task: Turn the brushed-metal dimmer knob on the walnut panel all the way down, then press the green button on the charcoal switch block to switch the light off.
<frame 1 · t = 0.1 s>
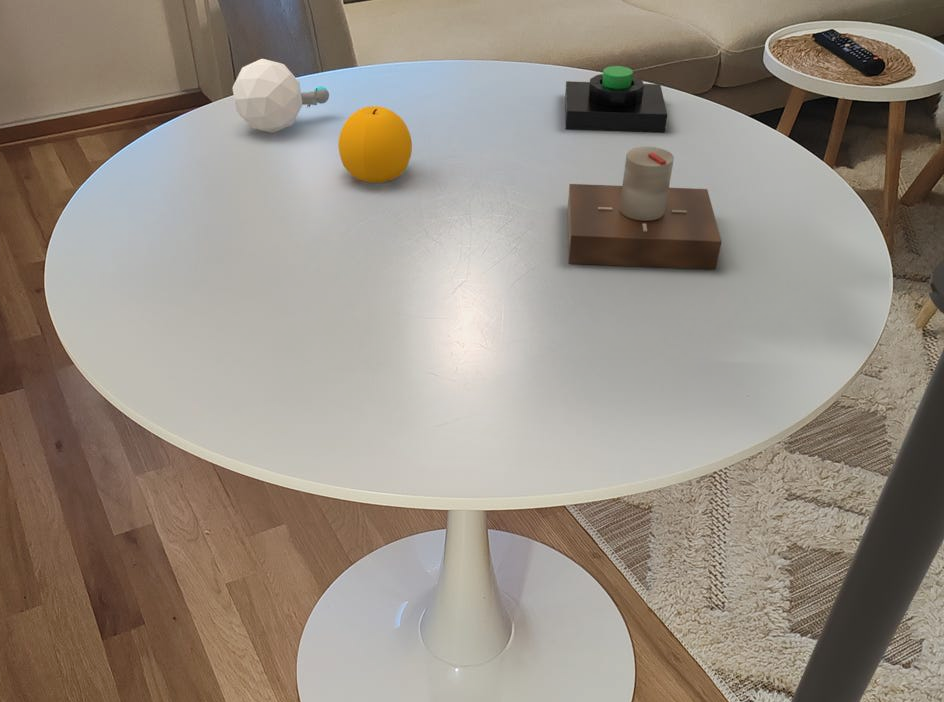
switch block: (613, 114, 116), on the table
dimmer knob: (646, 182, 88), point 6 cm above the table, hinge at 120.0°
dimmer panel: (637, 238, 92), on the table
orange fruit: (377, 177, 102), on the table
green push button: (617, 78, 113), point 4 cm above the table, slide at 0.1 cm
perfume bottle: (286, 127, 113), on the table
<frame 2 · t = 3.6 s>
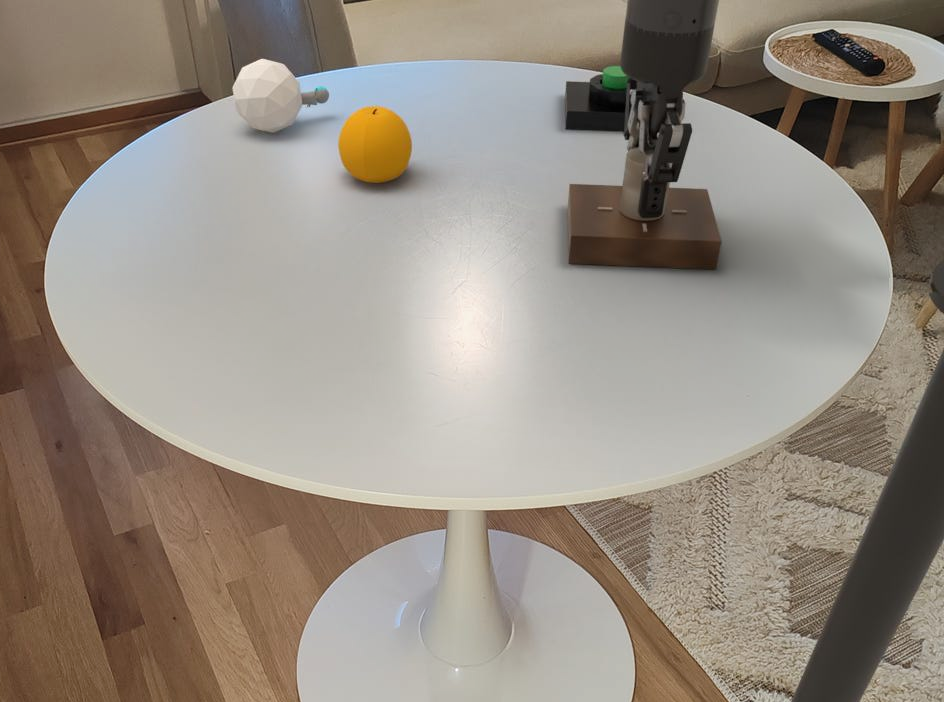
hand: (642, 203, 90), 4 cm above the table, tool pointing down, fingers closed on dimmer knob, 4 cm apart
dimmer knob: (646, 182, 88), point 6 cm above the table, hinge at 120.2°, touching gripper
everything else where it was.
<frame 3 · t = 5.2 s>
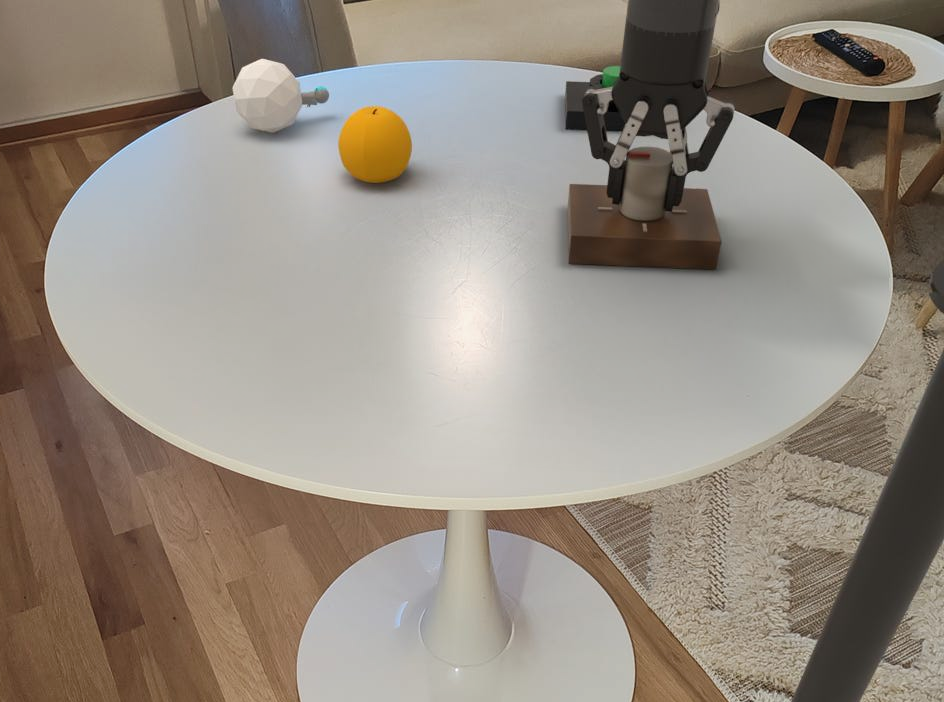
hand: (643, 203, 89), 4 cm above the table, tool pointing down, fingers closed on dimmer knob, 4 cm apart
dimmer knob: (646, 182, 88), point 6 cm above the table, hinge at 3.3°, touching gripper
everything else where it was.
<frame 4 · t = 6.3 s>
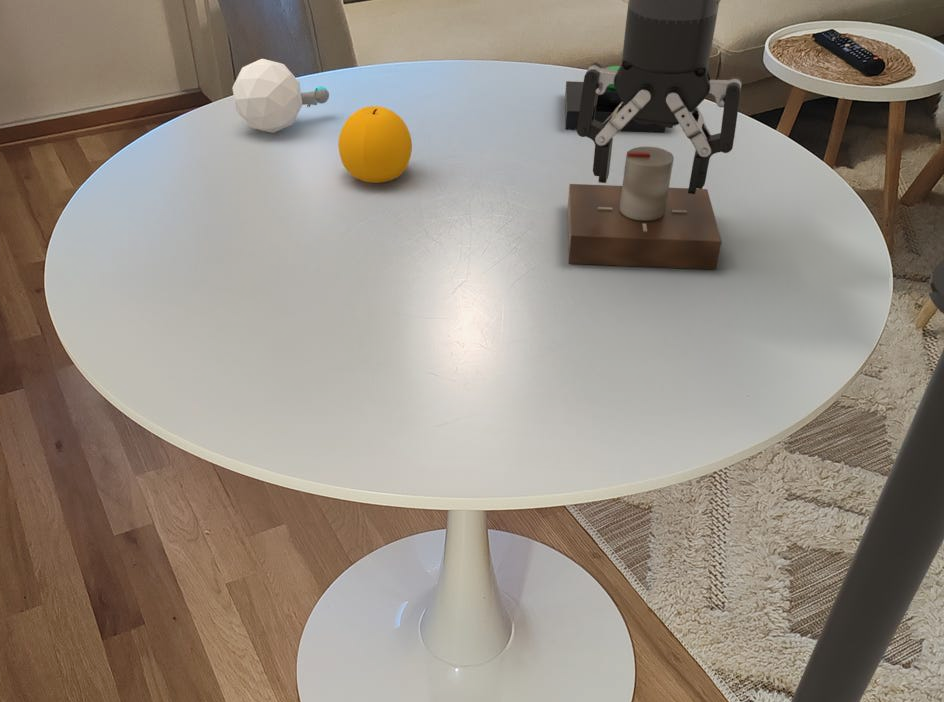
hand: (647, 185, 89), 5 cm above the table, tool pointing down, fingers open, 8 cm apart
dimmer knob: (646, 182, 88), point 6 cm above the table, hinge at 2.4°
everything else where it was.
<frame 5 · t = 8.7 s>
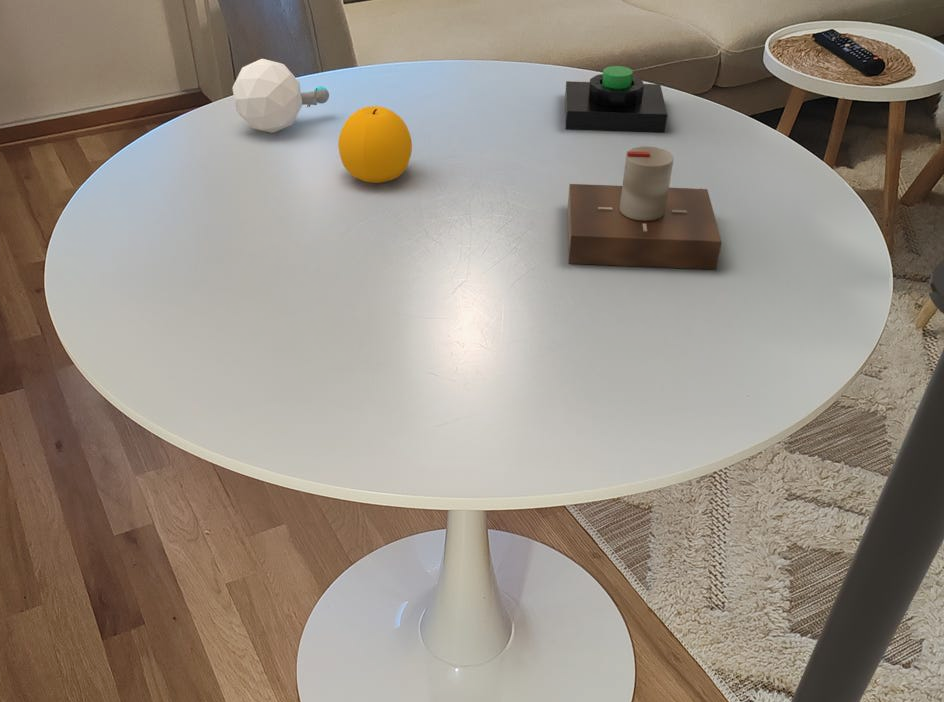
nothing on the table moved.
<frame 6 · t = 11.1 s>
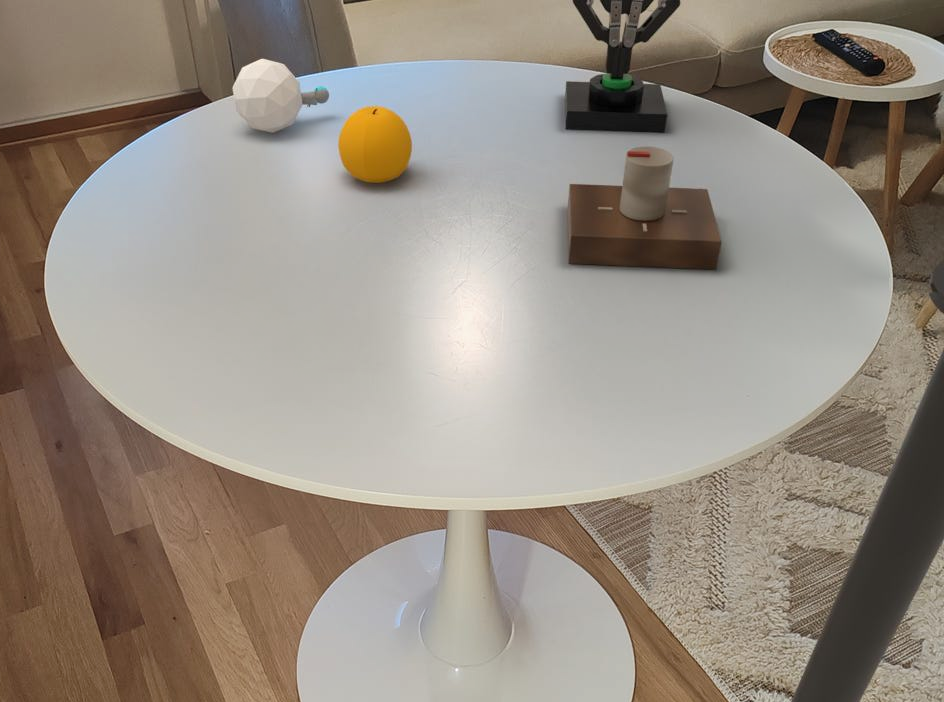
hand: (616, 76, 112), 5 cm above the table, tool pointing down, fingers closed
green push button: (616, 83, 113), point 4 cm above the table, slide at -0.6 cm, touching gripper
everything else where it was.
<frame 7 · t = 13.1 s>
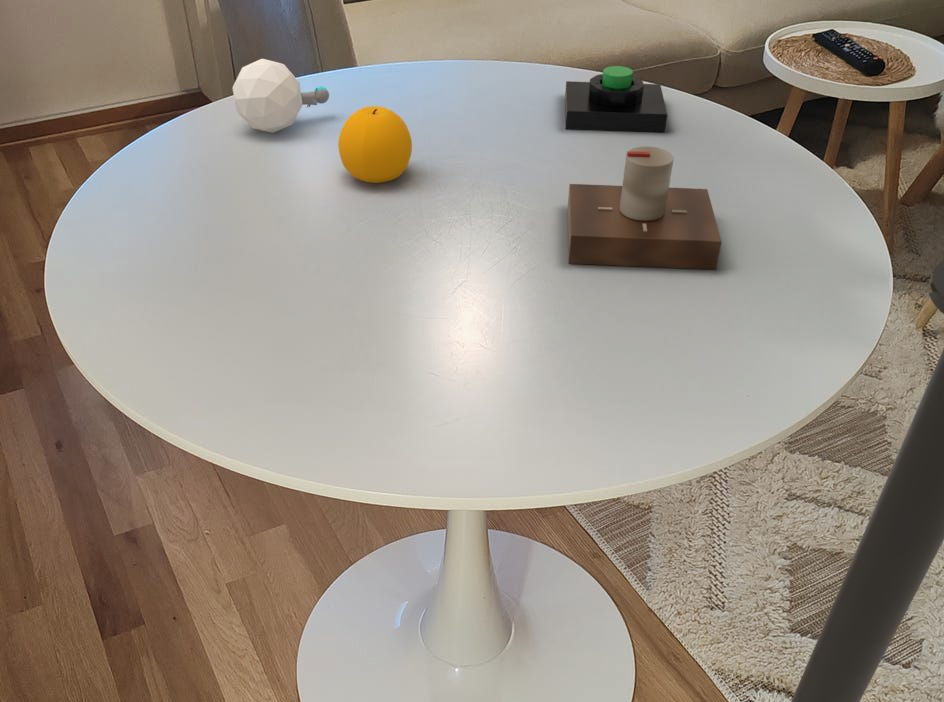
green push button: (617, 78, 113), point 4 cm above the table, slide at 0.1 cm
everything else where it was.
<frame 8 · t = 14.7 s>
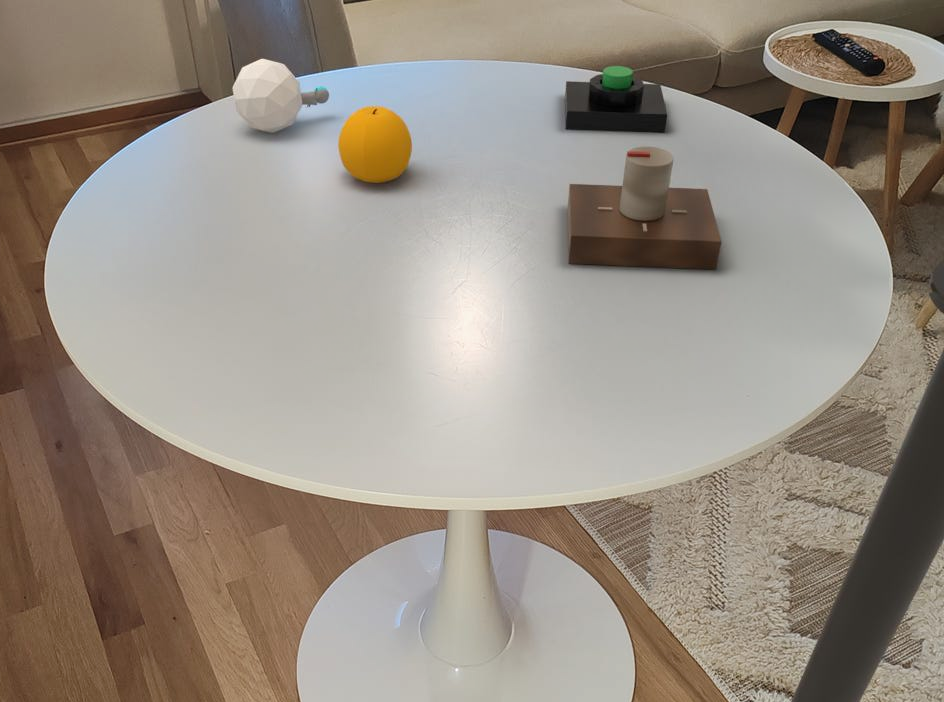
nothing on the table moved.
at the end: dimmer knob at +2° (first picture: +120°); green push button pushed in 1.0 cm at the most during the clip, back to where it started at the end; green push button slide at 0.1 cm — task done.
